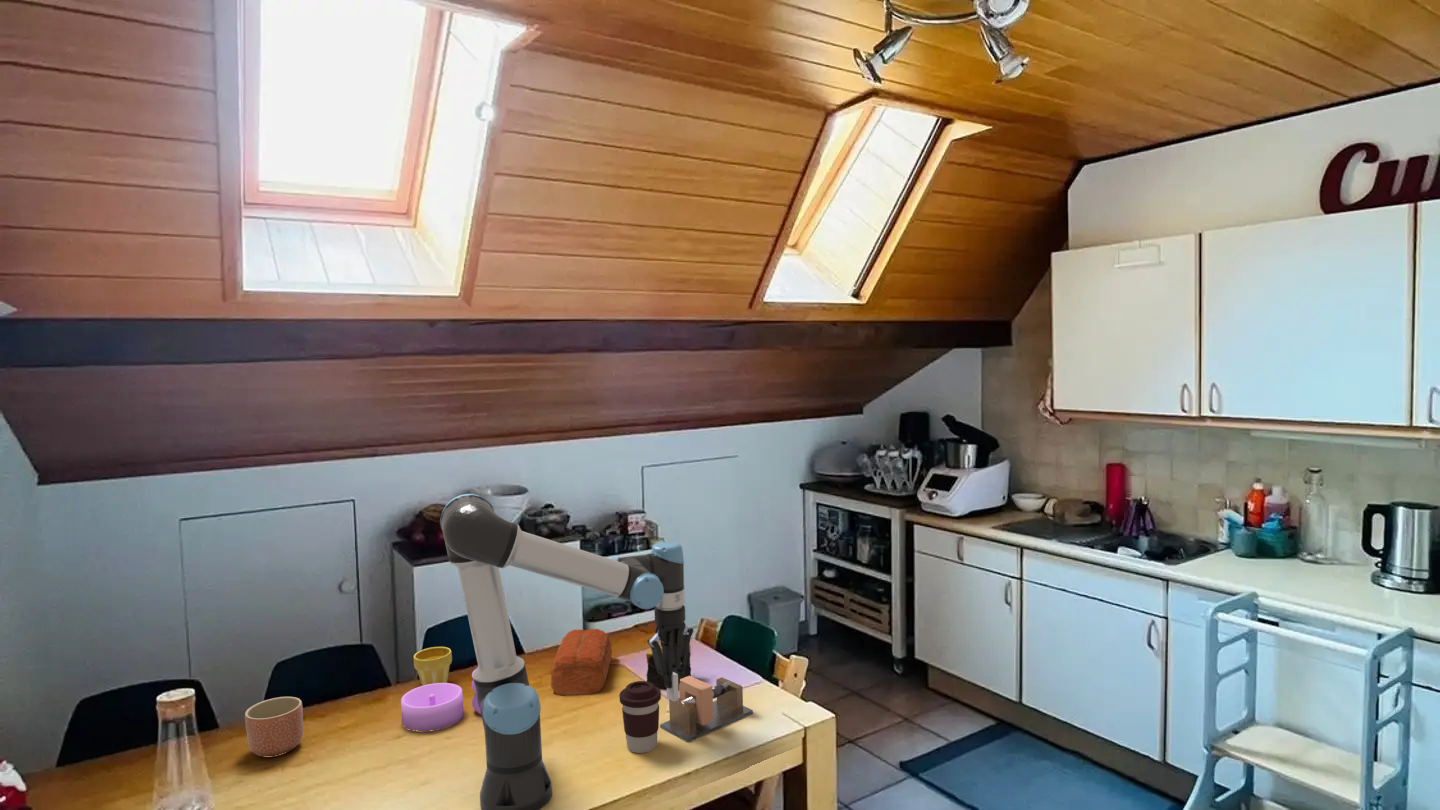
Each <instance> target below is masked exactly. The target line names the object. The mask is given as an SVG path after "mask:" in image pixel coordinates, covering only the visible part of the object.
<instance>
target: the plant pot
mask: <svg viewBox="0 0 1440 810" xmlns="http://www.w3.org/2000/svg"><path fill="white" fill-rule="evenodd" d="M452 653H453V651H452V650H451V648H449V647H446V646H433V647H432V646H431V647H427V648H424V649H422V650H419V651H417V652H416V653H415V654H413V666H414V669H415V670H417V673H418V676H419V680H420V682H421V686H424V685H428V684H434V683H448V679H449V672H450V667H451V666H450V665H451V664H452V662H453V654H452Z"/></svg>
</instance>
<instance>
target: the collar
mask: <svg viewBox="0 0 1440 810" xmlns="http://www.w3.org/2000/svg"><path fill="white" fill-rule="evenodd" d="M712 687H713V685H711V684H708V683H706V682H704V681H703V680H700V679H697V678H696V677H693V676H692V675H691V676H687V677H685V678H682V679H680V684H679V691H678V693H679V698H680V699H682V700H684V699H687V698H689V697H692V696H696V722H697V723H699V724H701V725H705V724H707V723H709V722H712V721H713V702H714V699H713V689H712Z"/></svg>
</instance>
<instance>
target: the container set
mask: <svg viewBox="0 0 1440 810" xmlns="http://www.w3.org/2000/svg"><path fill="white" fill-rule="evenodd" d="M476 669H477V668H475V669H474V670H473V671H472V672H471V677H472V679H473V680H472V681H471V689H472V690H473V692H474V693H475V694H473V697H472V701H471V705H472V708H473V709H474V711H475V712H476V713H477V714H479V715H481V712H480V708H479V705H478V702H477V692H476V688H475V683H474V678H473V674H474V672H475V670H476ZM463 694H464V693H463V688H462V687H461V686H460V685H458V684H456V683H449V682H447V683H434V684H428V685H424V686H422V685H420V686H417V687H416V688H412V689H410V690H409V691H407V692H406V693H405V694H403V695H402V697H401V698H400V707H401V711H400V712H401V723H403V724H402V726H403V725H404V726H405V728H407V729H410V730H415V731H416V730H418V731H430V730H436V731H438V730H437V729H440V730H443V729H442V728H444V729H446V727H447V728H449V727H451V726H453V725H454V724H456V723H458V722H460V721H461V719H462V718H463V717H464V715H465V714H464V696H463ZM450 725H451V726H450ZM448 726H449V727H448ZM405 728H404V729H405ZM407 729H406V730H407ZM410 730H409V731H410ZM430 732H431V731H430Z"/></svg>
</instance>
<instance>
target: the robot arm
mask: <svg viewBox="0 0 1440 810" xmlns="http://www.w3.org/2000/svg"><path fill="white" fill-rule="evenodd" d="M439 519H440V520H439V525H440V529H441V531H442V534H443V539H444V542H445V543H444V544H445V548H446V553H447V557H448V561H449V563H450V564H451V565H453V566H455V567H456V568H457V569H458V575H459V580H460V586H461V590H462V594H463V598H464V603H465V609H466V614H467V618H468V619H467V620H468V622H469V623H468V624H469V628H470V632H471V638H472V643H473V647H474V652H475V657H476V662H477V663H476V664H477V668H475V669H476V670H475V669H474V670H475V672H474V674H473V677H472V679H473V678H474V683H475V688H476V692H477V702H478V705H479V708H480V712H481V714H480V715H481V721H482V726H483V730H484V741H485V758H486V759H485V760H486V761H485V762H486V769H485V773H484V777H483V780H482V785H481V789H480V792H479V805H480V809H481V810H541V809H542V808H544V807H546V805H547V804H548V803H549V802H550V800H551V798H552V796H553V785H552V780H551V777H550V775H549V772H548V770H547V768H546V765H545V763H544V761H543V750H542V749H543V747H542V745H543V744H542V728H541V708H542V706H541V701H540V698H539V697H540V696H539V694H538V692H537V690H536V689H535V688H533V687H532V686H531V685H530V682H529V678H528V672H527V668H526V662H525V660H524V658H522V657H519V656H518V655H517V653H516V647H515V643H514V637H513V631H512V627H511V623H510V618H509V613H508V608H507V603H506V597H505V593H504V588H503V584H502V583H503V582H502V578H501V573H500V569H504V568H506V567H509V566H511V567H514V568H518V569H520V570H524V571H528V572H531V573H535V574H538V575H540V576H541V575H542V576H544V577H548V578H551V579H553V580H558V581H562V582H565V583H568V584H571V585H575V586H579V587H581V588H586V589H589V590H590V591H591V590H592V591H595V592H599V593H602V594H605V595H608V596H613V597H616V598H618V599H620V600H625V601H628V602H632V604H633V605H634V606H636V607H638V608H640V609H642V610H650V609H653V608H654V610H653V611H654V622H655V625H656V626H655V630H654V635H653V636H652V637H651V638H648V639H647V644H648V645H649V646H650V650H652V654H653V657H654V661H655V665H656V669H657V673H659V674H661V675H664V681H665V687H666V688H667V690H666V698H667V699H668V700H669V699H670V700H672V701H677V700H679V691H678V685H679V684H680V674H682V672H683V671H682V670H681V669H683V668H686V665H687V658H688V652H689V645H690V646H691V639H692V636H693V633H694V628H692V627H689V626H687V625H686V606H685V603H686V602H685V601H686V600H685V568H684V567H685V565H684V564H685V561H684V560H685V559H684V551H683V547H682V545H681V544H680V543H678V542H676V541H660V542H658V543H654V544H653V545H652V546H651V553H650V552H649V553H647V554H646V553H645V554H639V555H632V556H629V555H628V556H622V557H621V556H617V557H614V558H608V557H606V556H602V555H599V554H596V553H593V552H589V551H586V550H583V549H580V548H577V547H574V546H570V545H567V544H564V543H561V542H558V541H555V540H551V539H549V538H545V537H542V536H539V535H536V534H532V533H529V532H526V531H523V530H522V529H521V527H520V525H519V524H517V523H515V522H511V521H508V520H507V519H504V518H503V517H501V516H499V515H498V514H496V512H495V508H494V507H493V505H492V503H490V501H489V500H487V499H486V498H485V497H482V496H481V495H478V494H474V493H464V494H460V495H458V496H455V497H454V498H452V499H451V500H449V501H448V503H446V505H445V506H444V508H443V510H442V512H441V515H440V518H439ZM499 568H500V569H499ZM660 642H661V647H662V650H661V647H660ZM476 692H475V693H476Z"/></svg>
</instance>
